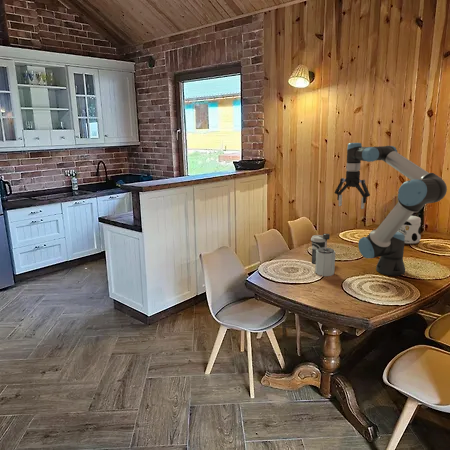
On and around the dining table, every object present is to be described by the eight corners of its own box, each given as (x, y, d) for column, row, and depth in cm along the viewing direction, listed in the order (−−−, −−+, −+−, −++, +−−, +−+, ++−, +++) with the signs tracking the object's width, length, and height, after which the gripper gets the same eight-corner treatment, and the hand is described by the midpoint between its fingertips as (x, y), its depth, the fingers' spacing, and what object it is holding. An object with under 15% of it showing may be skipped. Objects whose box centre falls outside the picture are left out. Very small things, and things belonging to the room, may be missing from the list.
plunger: (333, 264, 217) (334, 234, 213) (327, 267, 212) (328, 236, 208) (322, 261, 222) (323, 232, 217) (316, 264, 217) (317, 234, 212)
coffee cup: (326, 262, 234) (327, 239, 230) (310, 262, 236) (310, 238, 232) (325, 257, 243) (326, 234, 239) (310, 257, 245) (310, 234, 241)
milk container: (390, 243, 268) (392, 218, 264) (395, 237, 282) (397, 213, 278) (417, 247, 259) (420, 221, 254) (421, 241, 272) (424, 216, 268)
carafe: (336, 272, 218) (337, 249, 215) (328, 277, 211) (329, 253, 208) (316, 267, 227) (317, 245, 224) (307, 272, 220) (308, 249, 217)
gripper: (377, 171, 213) (374, 208, 218) (335, 168, 229) (334, 203, 234) (372, 172, 208) (369, 210, 213) (329, 170, 224) (328, 205, 229)
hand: (351, 207), depth 224 cm, fingers open, 13 cm apart
